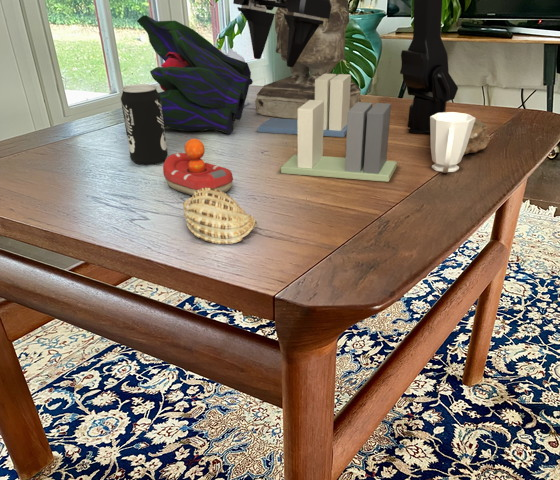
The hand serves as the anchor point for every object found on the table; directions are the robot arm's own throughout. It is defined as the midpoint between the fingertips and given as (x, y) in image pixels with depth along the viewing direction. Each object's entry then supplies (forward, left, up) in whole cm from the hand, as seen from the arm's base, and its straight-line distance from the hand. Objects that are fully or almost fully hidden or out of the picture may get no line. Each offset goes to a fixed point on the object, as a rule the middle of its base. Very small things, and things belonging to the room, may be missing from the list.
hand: (272, 62), depth 96 cm
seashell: (-4, +35, -15) cm, 39 cm away
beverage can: (+21, +8, -15) cm, 27 cm away
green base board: (-13, +5, -15) cm, 21 cm away
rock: (-31, -12, -15) cm, 37 cm away
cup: (-30, +1, -15) cm, 34 cm away
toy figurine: (+23, -39, -15) cm, 48 cm away
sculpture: (+4, -36, -15) cm, 39 cm away
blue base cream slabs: (0, -20, -15) cm, 25 cm away
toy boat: (+6, +20, -15) cm, 26 cm away
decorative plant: (+25, -15, -15) cm, 33 cm away
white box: (-8, +5, -14) cm, 17 cm away
